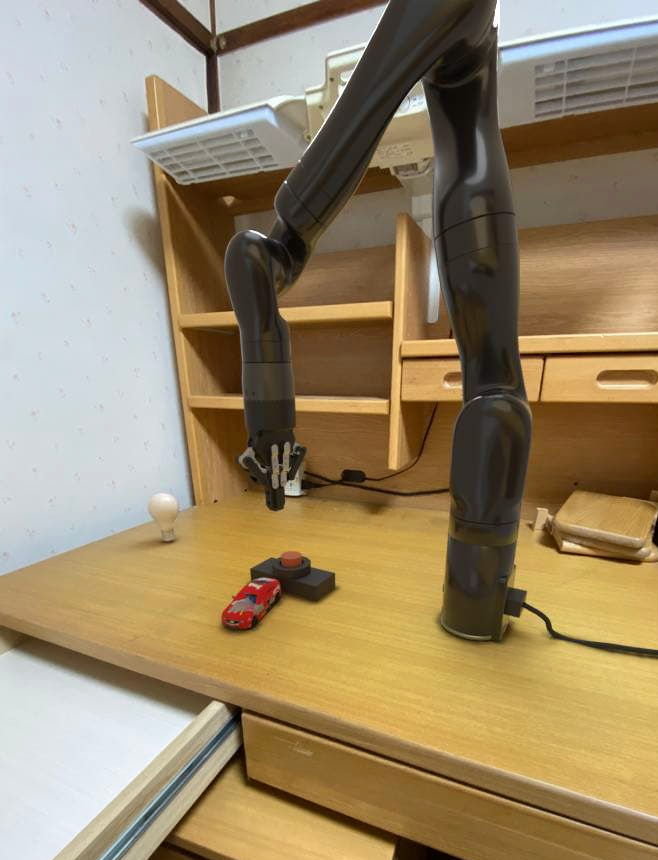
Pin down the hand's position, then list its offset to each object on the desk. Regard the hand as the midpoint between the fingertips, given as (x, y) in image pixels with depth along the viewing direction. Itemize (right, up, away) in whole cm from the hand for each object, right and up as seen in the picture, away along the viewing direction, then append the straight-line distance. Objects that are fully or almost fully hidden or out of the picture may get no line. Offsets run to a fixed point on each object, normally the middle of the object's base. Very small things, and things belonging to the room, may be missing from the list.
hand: (276, 509), depth 73 cm
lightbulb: (-28, -5, +29) cm, 41 cm away
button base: (+2, -13, +8) cm, 15 cm away
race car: (-4, -16, 0) cm, 17 cm away
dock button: (+2, -9, +6) cm, 11 cm away
